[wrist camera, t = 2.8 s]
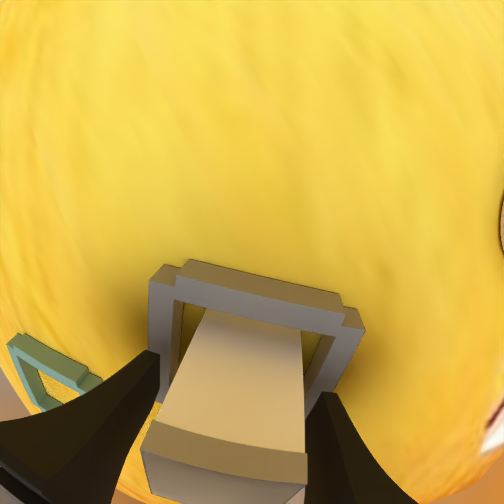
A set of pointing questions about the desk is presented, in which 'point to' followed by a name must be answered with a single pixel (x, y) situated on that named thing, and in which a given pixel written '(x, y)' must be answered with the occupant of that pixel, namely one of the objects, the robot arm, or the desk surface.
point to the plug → (231, 417)
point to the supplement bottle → (502, 226)
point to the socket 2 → (256, 308)
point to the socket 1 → (47, 370)
